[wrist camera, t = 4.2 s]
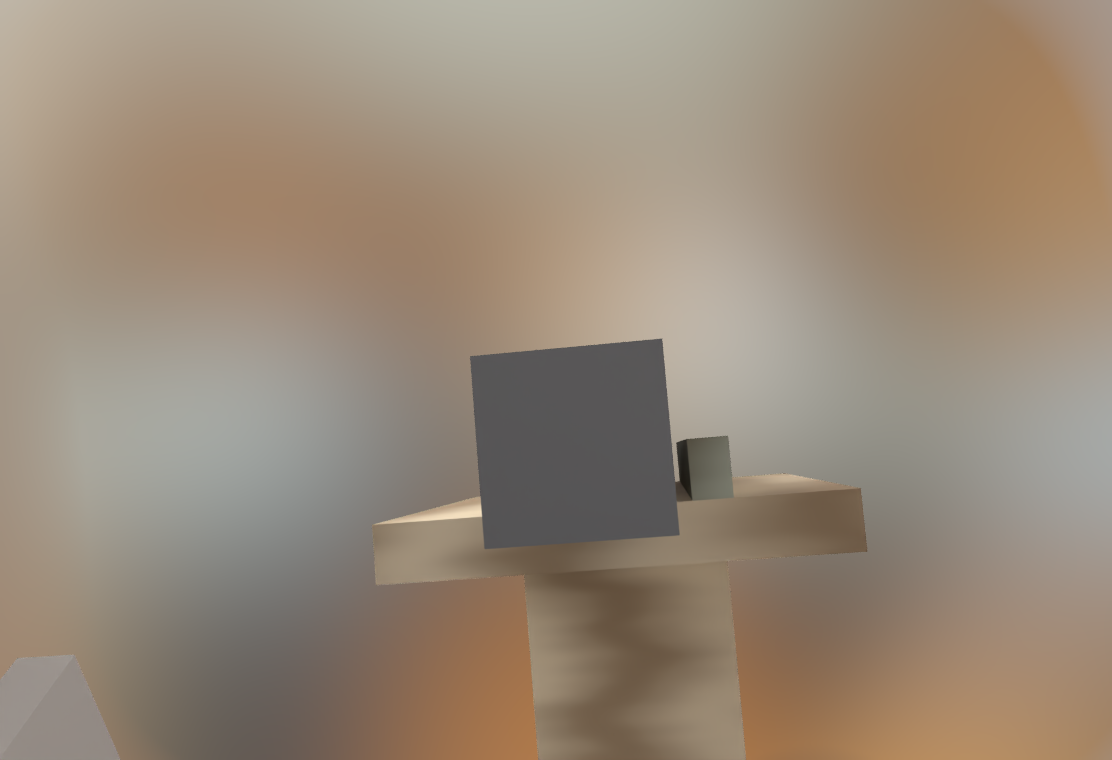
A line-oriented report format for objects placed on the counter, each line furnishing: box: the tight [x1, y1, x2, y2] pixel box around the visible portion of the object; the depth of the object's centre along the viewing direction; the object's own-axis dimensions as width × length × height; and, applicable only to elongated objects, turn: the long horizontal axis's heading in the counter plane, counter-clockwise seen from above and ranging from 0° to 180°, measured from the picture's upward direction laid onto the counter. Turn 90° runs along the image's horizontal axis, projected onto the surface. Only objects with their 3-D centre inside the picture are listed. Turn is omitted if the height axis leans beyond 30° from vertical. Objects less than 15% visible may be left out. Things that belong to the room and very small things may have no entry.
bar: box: [470, 339, 680, 549], centre depth 27 cm, size 3×24×3 cm, turn 174°
